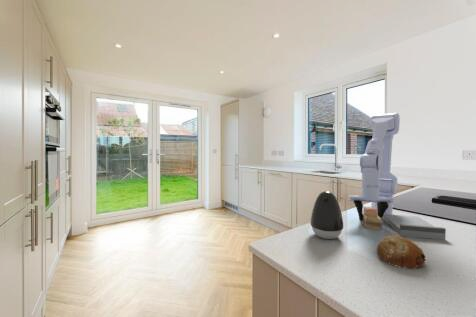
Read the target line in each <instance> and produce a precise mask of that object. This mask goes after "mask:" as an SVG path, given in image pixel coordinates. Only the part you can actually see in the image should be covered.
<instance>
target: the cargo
mask: <svg viewBox="0 0 476 317" xmlns="http://www.w3.org/2000/svg"><path fill="white" fill-rule="evenodd" d="M363 213H364V214H365V215H366V216H377V209H376V208H374V207H371V206H364V205H363Z"/></svg>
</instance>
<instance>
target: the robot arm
mask: <svg viewBox="0 0 476 317" xmlns="http://www.w3.org/2000/svg"><path fill="white" fill-rule="evenodd" d="M400 119H401V117H400V114H399V113H398V112H394V113H393V112H392V113H383V114H373V115H371V117H370V120H369V121H370V123H369V124H370V127H371V129H372V137H371V139H369V140H368V142H367V145H366V148H365V150H364V154H362V155H361V156H360V158H359V167H360V173H361V194H360V195H359V194H358V195H348V201H349V202H353V204H354V206H355V208H356V211H357V215H358V218H359V219H358V220H359V222H360V221H362V220H363V216H362V211H363V206H364V204H363V202H365V203H366V202H367V203H371V205H370V207H374V208H376V209H377V215H378V216H379V217H380V218H381V219H382V220H383V215H384V214H388V215H395V214H394V213H393V209H394V208H393V207H394V206H393V205H394V196H395V195H396V194H397V193H398V189H399V186H398V185H399V184H398V178H397V176H396V175H395V174H394V173H392V172H391V164H392V150H393V149H392V148H393V139H394V136H395V135H397V134H399V131H400Z"/></svg>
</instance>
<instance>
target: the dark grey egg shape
mask: <svg viewBox="0 0 476 317" xmlns="http://www.w3.org/2000/svg"><path fill="white" fill-rule="evenodd" d="M340 206H341V205H340V204H339V202H338V199H337V197H336V196H335V194H333V192H331V191H324V190H323V191H322V192H320V193H319V194H318V195H317V197H316V199H315V201H314V204H313V207H312V211H311V216H310V227H311V229H312V231H313V233H314V234H315V235H316V236H317V237H319V238H322V239H325V240H333V239H336V238H338V237H339V236H340V235H341V234H342V232H343V231H342V230H343V229H344V220H343V214H342V211H341V207H340Z"/></svg>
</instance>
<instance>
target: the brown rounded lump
mask: <svg viewBox="0 0 476 317" xmlns="http://www.w3.org/2000/svg"><path fill="white" fill-rule="evenodd" d="M376 254H377V257H378V258H379V259H380V260H381V261H382V260H383V261H382V262H384V261H385V262H384V263H386V262H387V264H388V263H390V264H389V265H391V264H393V265H392V266H394V265H397V266H396V267H398V266H401V267H400V268H403V267H406V268H405V269H409V268H411V269H412V270H414V269H413V268H416V269H420V268H422V267H423V266H424V264H425V262H426V260H427V259H426V255H425V253H424V251H423V249H422V248H421V247H420V246H419V245H418V244H416V243H415V242H413V241H412V240H410V239H408V238H405V237H404V236H401V235H397V234H391V235H388V236H385V237H383V238H382V239H381V240H380V241H379V243H378V245H377V246H376Z"/></svg>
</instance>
